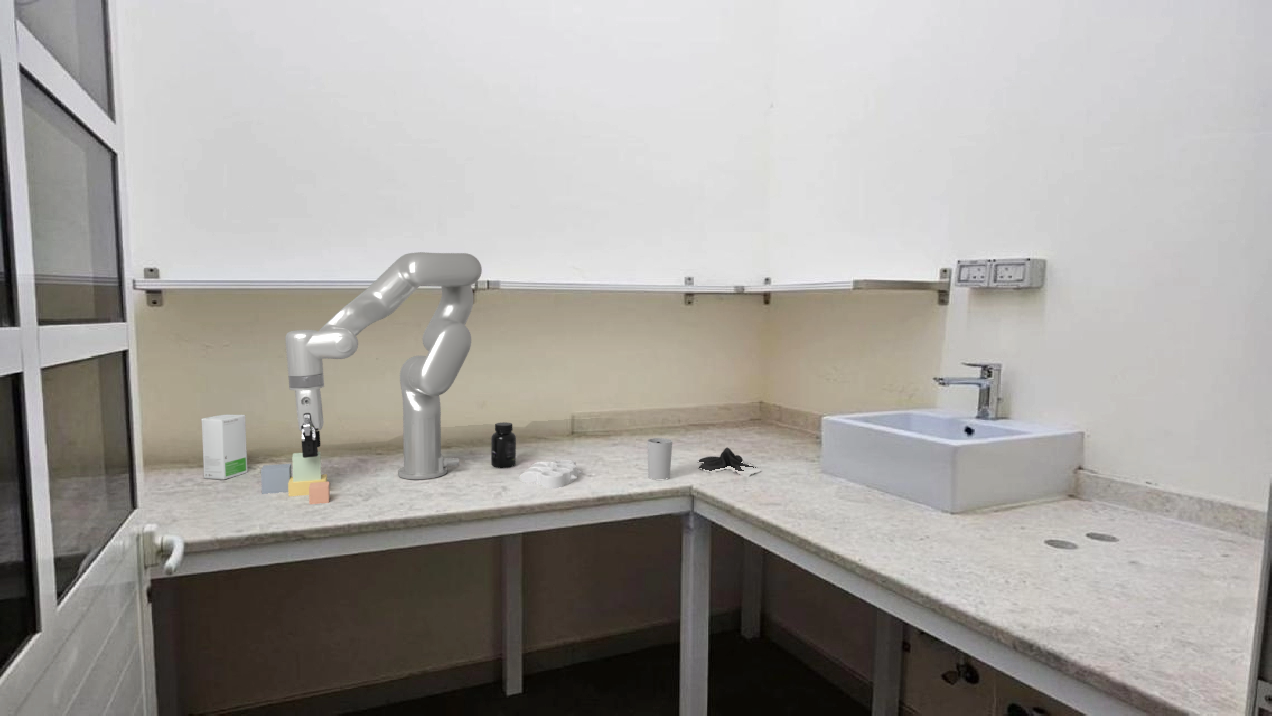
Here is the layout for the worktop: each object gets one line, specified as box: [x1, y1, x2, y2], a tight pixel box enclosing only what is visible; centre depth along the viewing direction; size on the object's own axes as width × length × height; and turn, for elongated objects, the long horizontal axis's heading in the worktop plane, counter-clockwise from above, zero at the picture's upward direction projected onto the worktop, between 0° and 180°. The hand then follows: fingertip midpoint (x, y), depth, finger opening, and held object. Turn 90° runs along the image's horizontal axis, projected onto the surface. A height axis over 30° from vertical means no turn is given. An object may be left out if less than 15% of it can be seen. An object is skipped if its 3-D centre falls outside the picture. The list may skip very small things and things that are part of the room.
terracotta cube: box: [308, 481, 331, 505], centre depth 155 cm, size 4×4×4 cm
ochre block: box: [287, 473, 328, 497], centre depth 163 cm, size 8×6×4 cm
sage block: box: [291, 451, 322, 482], centre depth 162 cm, size 6×4×6 cm, turn 115°
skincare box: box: [201, 414, 248, 480], centre depth 175 cm, size 8×7×16 cm
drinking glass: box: [647, 437, 673, 480], centre depth 180 cm, size 7×7×10 cm
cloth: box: [697, 447, 757, 471], centre depth 194 cm, size 22×19×6 cm
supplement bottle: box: [490, 421, 517, 469], centre depth 190 cm, size 7×7×12 cm
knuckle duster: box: [519, 459, 583, 489], centre depth 178 cm, size 3×18×15 cm
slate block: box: [260, 463, 293, 495], centre depth 163 cm, size 6×4×6 cm, turn 111°
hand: (312, 451), depth 162 cm, fingers open, 9 cm apart
